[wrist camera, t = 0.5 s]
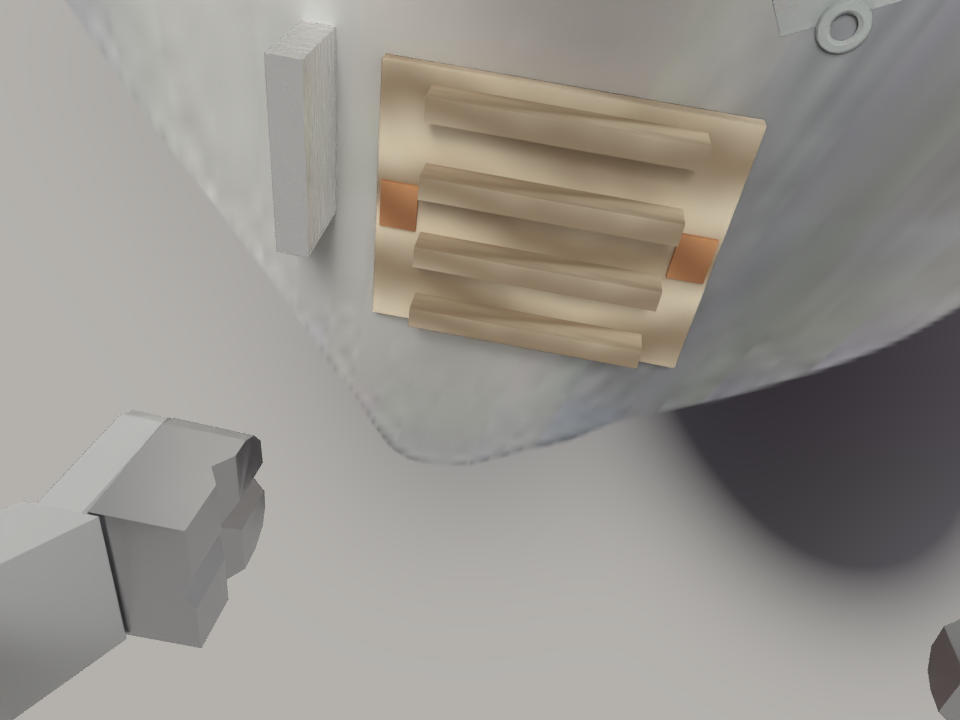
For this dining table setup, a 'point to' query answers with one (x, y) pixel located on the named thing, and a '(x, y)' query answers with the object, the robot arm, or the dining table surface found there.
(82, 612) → the robot arm
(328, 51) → the blanking panel
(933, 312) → the dining table surface
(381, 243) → the rack
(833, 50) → the mounting bracket
